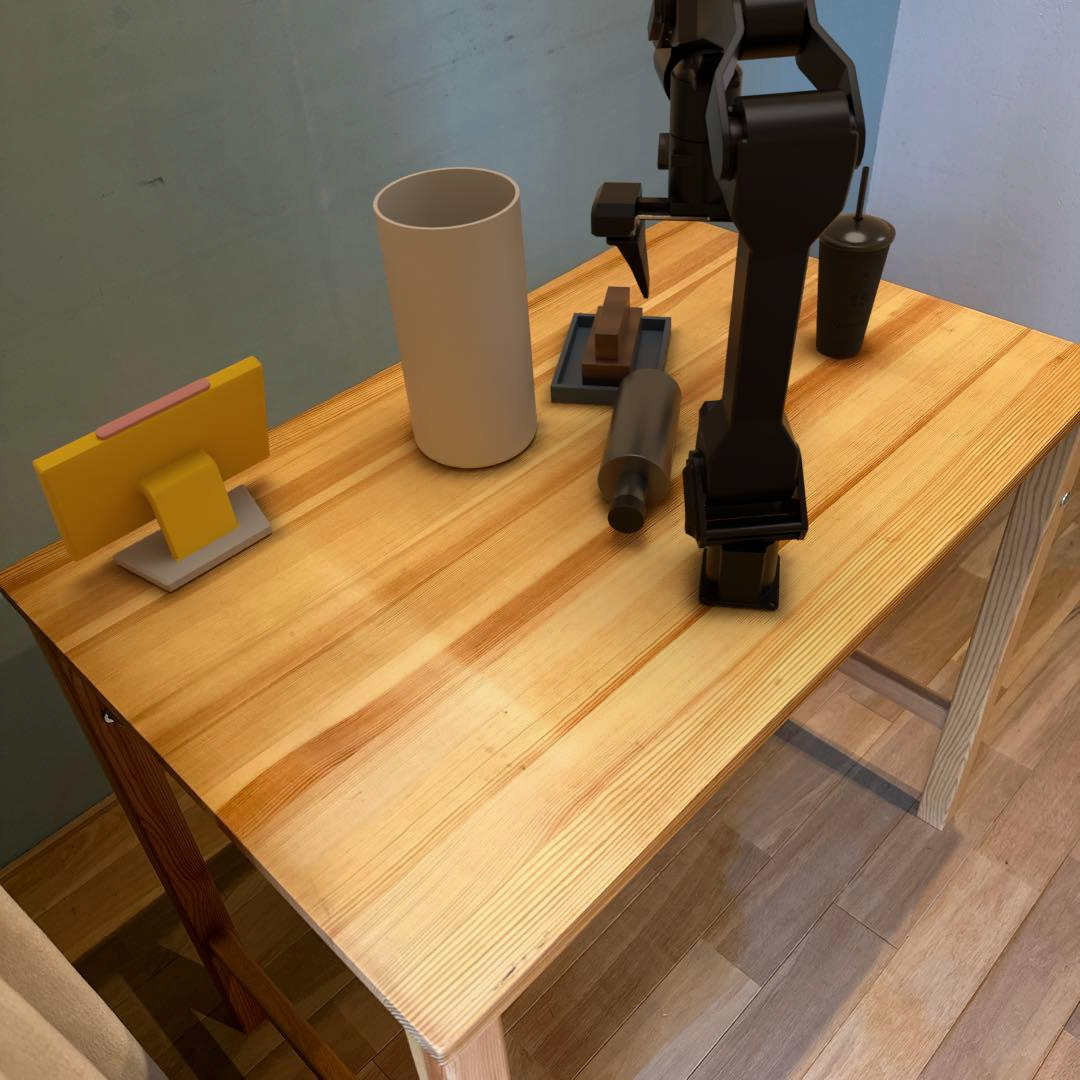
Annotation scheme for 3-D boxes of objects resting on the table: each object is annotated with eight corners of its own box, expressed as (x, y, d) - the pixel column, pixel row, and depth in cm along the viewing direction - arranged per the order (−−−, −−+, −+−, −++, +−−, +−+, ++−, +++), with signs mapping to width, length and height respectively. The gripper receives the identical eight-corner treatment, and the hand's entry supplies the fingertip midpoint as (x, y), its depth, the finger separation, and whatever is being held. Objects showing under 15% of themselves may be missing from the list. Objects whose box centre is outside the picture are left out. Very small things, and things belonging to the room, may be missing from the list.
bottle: (680, 423, 101) (682, 369, 97) (661, 550, 88) (663, 494, 84) (617, 419, 103) (617, 366, 98) (589, 544, 89) (587, 488, 85)
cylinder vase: (411, 476, 98) (366, 234, 81) (418, 403, 107) (379, 172, 90) (539, 467, 98) (520, 223, 81) (535, 395, 107) (518, 162, 90)
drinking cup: (788, 341, 112) (809, 163, 98) (844, 322, 114) (872, 146, 100) (830, 373, 107) (859, 190, 93) (888, 353, 109) (924, 172, 95)
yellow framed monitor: (269, 474, 99) (226, 335, 89) (315, 508, 95) (275, 366, 84) (80, 579, 90) (7, 436, 79) (121, 622, 85) (49, 478, 75)
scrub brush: (629, 394, 105) (629, 340, 101) (582, 391, 106) (580, 338, 102) (642, 334, 114) (642, 282, 109) (598, 332, 115) (597, 280, 110)
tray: (657, 408, 104) (657, 392, 102) (551, 402, 106) (550, 386, 104) (671, 332, 115) (671, 316, 113) (574, 327, 117) (573, 312, 115)
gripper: (817, 96, 88) (797, 261, 98) (606, 95, 91) (608, 255, 102) (819, 145, 80) (797, 319, 90) (587, 142, 83) (592, 310, 94)
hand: (695, 298), depth 94 cm, fingers open, 9 cm apart
